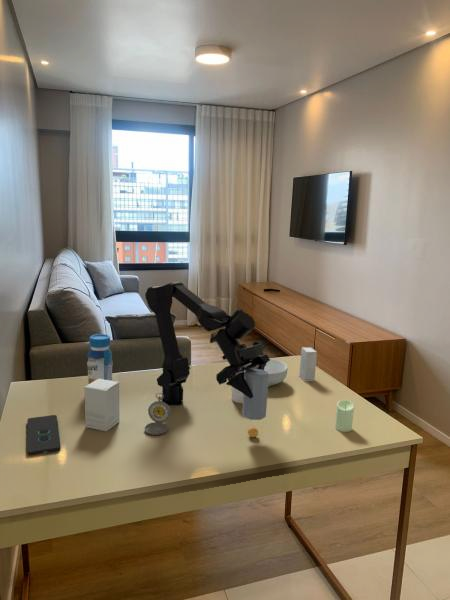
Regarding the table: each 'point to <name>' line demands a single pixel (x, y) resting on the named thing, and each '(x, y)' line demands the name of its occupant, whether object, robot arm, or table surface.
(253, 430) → the amber ball
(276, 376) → the cereal bowl
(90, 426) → the supplement box
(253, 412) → the grey faceted canister
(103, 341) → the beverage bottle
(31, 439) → the smart home device
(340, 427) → the candle
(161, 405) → the pocket watch
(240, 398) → the white cup
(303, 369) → the skincare box
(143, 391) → the table surface
